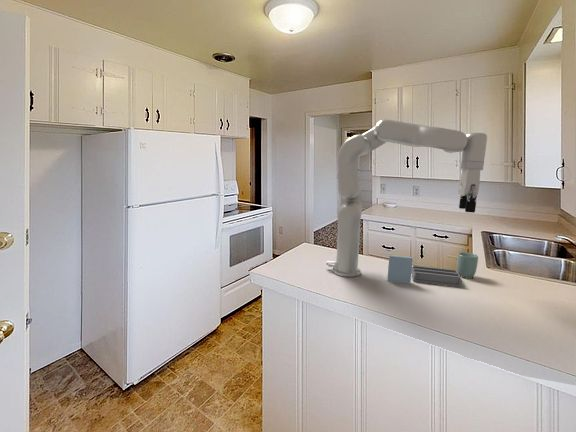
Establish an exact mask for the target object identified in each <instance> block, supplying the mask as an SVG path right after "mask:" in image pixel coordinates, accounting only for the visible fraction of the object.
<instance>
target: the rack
mask: <svg viewBox="0 0 576 432" xmlns="http://www.w3.org/2000/svg"><path fill="white" fill-rule="evenodd" d="M411 274H412V275H411V279H412V282H413V283H419V282H422V283H421V284H427V283H431V284H430V285H435V284H440V285H439V286H444V285H448V286H447V287H452V286H455V287H454V288H460V287H461V288H462V285H463V280H462V278H461V276H460V275H459V274H458V273H457V269H451V268H441V267H432V266H431V267H430V266H423V265H414V264H412V271H411Z"/></svg>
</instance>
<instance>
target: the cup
mask: <svg viewBox="0 0 576 432" xmlns="http://www.w3.org/2000/svg"><path fill="white" fill-rule="evenodd" d="M478 264H479V255H478V254H475V253H471V252H464V251H462V252H461V251H460V252H458V253H457V258H456V273H458V275H459V276H460V277H462V278H465V279H471V278H474V276H475V275H476V272H477V269H478Z"/></svg>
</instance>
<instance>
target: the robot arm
mask: <svg viewBox="0 0 576 432" xmlns="http://www.w3.org/2000/svg"><path fill="white" fill-rule="evenodd" d="M487 142H488V135H487V134H486V133H485V132H469V133H466V134H465V133H464V132H462V131H461V130H456V129H451V128H446V127H438V126H429V125H425V124H424V125H423V124H416V123H411V122H403V121H399V120H393V119H387V118H385V119H380V120H379V121H378V122H377V123H376V124H375V126H374V127H373V128H371V129H369V130H368V131H366V132H364V133H361V134H355V135H353V136H351V137H349V138H347V139H346V140H345V141H344V142H343V143H342V145H341V147H340V149H339V150H338V154H337V183H338V184H337V190H338V193H339V196H340V205H341V206H340V207H339V210H338V213H337V236H336V237H337V242H336V243H337V244H336V245H337V246H336V260H334V261H331V260H326V264H325V265H326V266H328V267H331V268H332V269H331V270H332V272H333V274H335V275H337V276H340V277H346V278H355V277H358V276H360V275H361V273H362V271H361V269H360V268H359V255H360V254H359V251H360V235H361V233H360V232H361V221H362V214H363V199H362V197H363V195H362V184H361V181H360V179H359V164H358V161H359V158H360V157H363V156H366V155H367V154H369V153H371V152H372V151H374V150H376V149H378V148H379V147H382V146H383V145H384V144H386V143H392V144H398V145H402V146H409V147H414V148H416V147H417V148H421V147H423V148H424V147H425V148H432V149H437V150H442V151H444V152H446V153H448V154H449V153H450V154H451V153H452V154H453V153H460V152H461V154H462V155H461V163H460V170H461V175H460V179H459V185H458V194H459V195H460V197H459V203H458V204H459V205H458V208H459V209H462V210H464V211H465V213H476V207H477V197H478V195H479V190H480V181H481V171H484V165H485V164H484V163H485V156H486V150H487Z"/></svg>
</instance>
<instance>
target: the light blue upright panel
mask: <svg viewBox="0 0 576 432" xmlns="http://www.w3.org/2000/svg"><path fill="white" fill-rule="evenodd" d="M413 259H414V258H413V257H412V256H406V255H405V256H404V255H395V254H389V256H388V267H387V268H388V269H387V278H386V279H387V280H386V281H387V282H392V283H397V284H399V283H400V284H406V283H409V285H411V281H412V280H411V279H412V275H411V271H412V267H413Z"/></svg>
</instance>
